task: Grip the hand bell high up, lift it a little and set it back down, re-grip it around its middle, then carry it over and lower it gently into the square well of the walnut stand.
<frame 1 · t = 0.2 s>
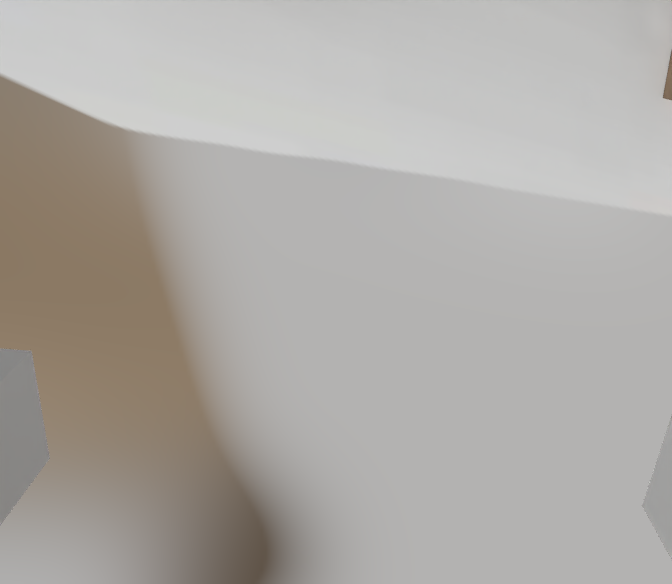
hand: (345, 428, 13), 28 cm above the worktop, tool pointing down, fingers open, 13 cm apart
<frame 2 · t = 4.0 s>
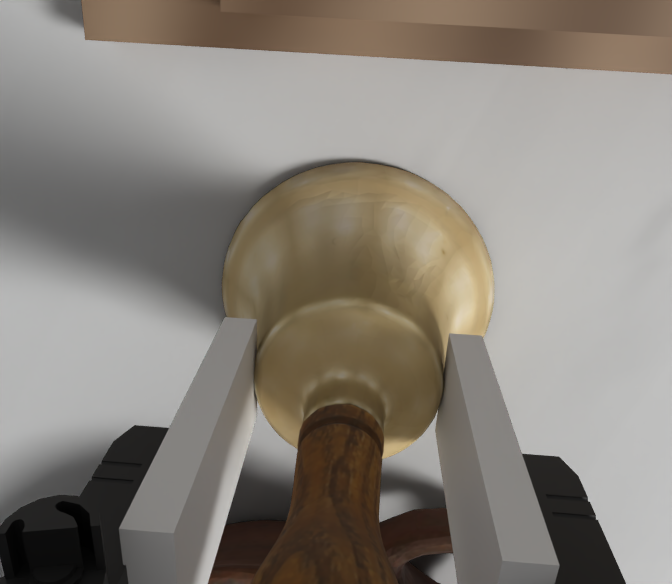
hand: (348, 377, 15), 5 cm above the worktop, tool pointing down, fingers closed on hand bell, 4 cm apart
hand bell: (356, 293, 19), on the worktop, touching gripper
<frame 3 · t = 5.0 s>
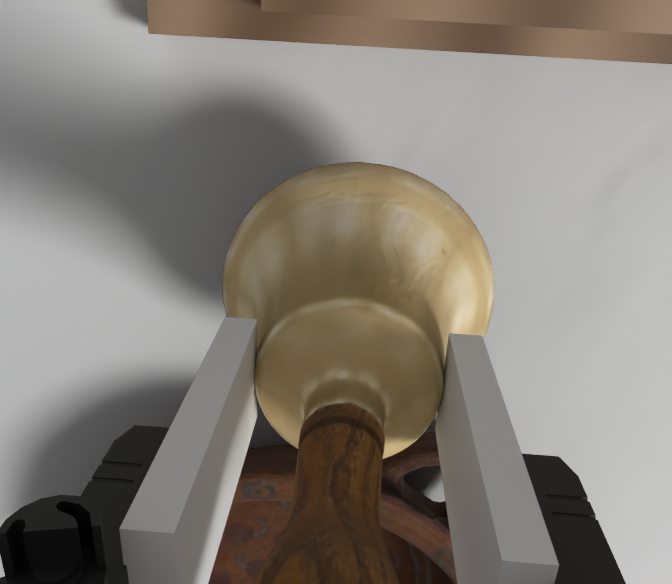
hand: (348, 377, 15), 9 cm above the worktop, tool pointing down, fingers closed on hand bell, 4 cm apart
dish: (298, 553, 30), on the worktop
hand bell: (356, 292, 19), point 4 cm above the worktop, touching gripper
when the fingers open (6 cm above the worktop, at t = 6.1 s): hand bell stays where it is, on the worktop.
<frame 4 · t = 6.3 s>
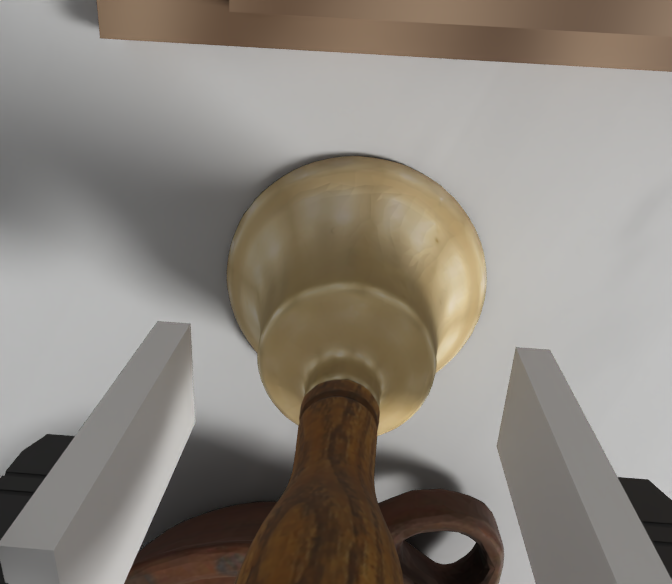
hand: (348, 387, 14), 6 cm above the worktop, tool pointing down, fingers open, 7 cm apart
hand bell: (354, 281, 20), on the worktop
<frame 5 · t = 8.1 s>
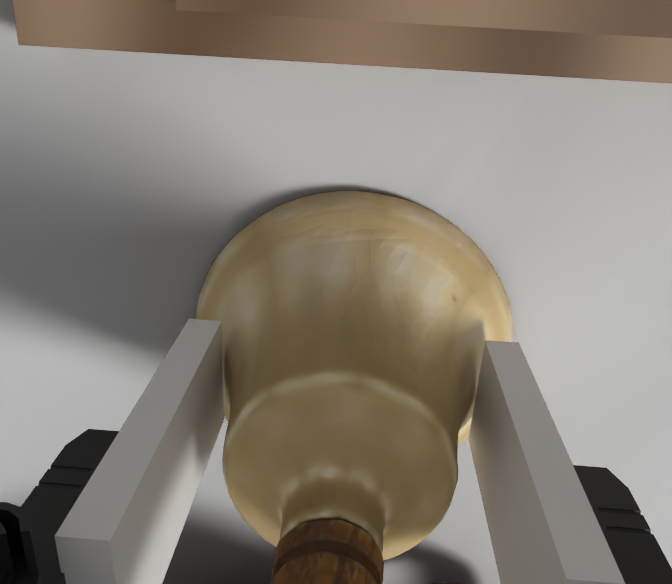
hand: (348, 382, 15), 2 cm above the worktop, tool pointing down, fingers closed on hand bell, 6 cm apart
hand bell: (351, 340, 16), on the worktop, touching gripper
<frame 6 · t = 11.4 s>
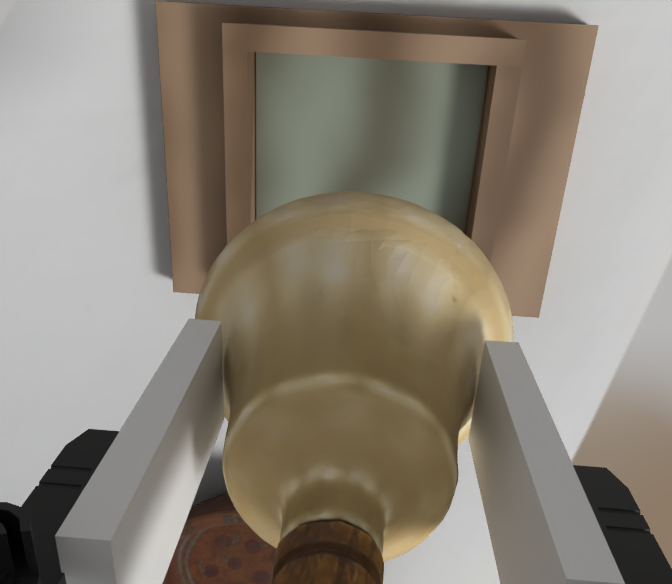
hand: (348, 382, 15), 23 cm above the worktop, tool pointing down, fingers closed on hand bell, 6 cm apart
dish: (260, 553, 49), on the worktop
walnut stand: (363, 166, 35), on the worktop
hand bell: (351, 340, 16), point 21 cm above the worktop, touching gripper
when the fingers open (5 cm above the worktop, at t = 15.0 s): hand bell drops 1 cm, resting on walnut stand.
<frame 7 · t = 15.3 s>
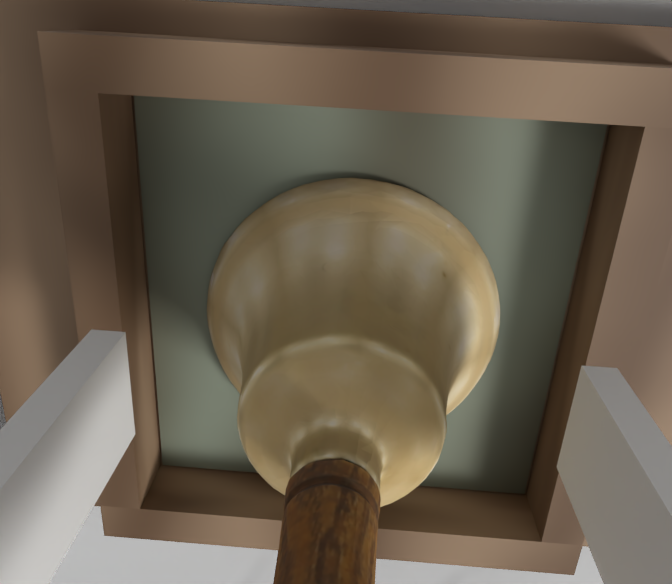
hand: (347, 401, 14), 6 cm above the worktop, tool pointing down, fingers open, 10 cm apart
walnut stand: (354, 294, 19), on the worktop
hand bell: (351, 316, 18), point 1 cm above the worktop, touching walnut stand
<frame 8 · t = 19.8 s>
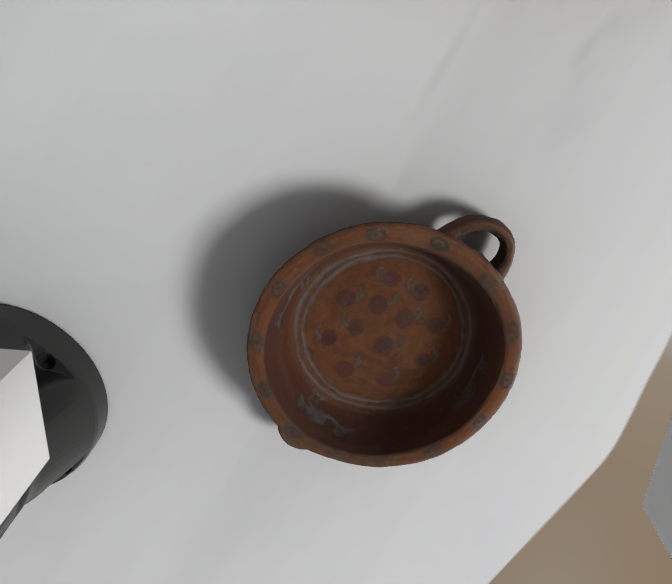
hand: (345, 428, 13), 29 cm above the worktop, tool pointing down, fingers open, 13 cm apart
dish: (381, 322, 44), on the worktop
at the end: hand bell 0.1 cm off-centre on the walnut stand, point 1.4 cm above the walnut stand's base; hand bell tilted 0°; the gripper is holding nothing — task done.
